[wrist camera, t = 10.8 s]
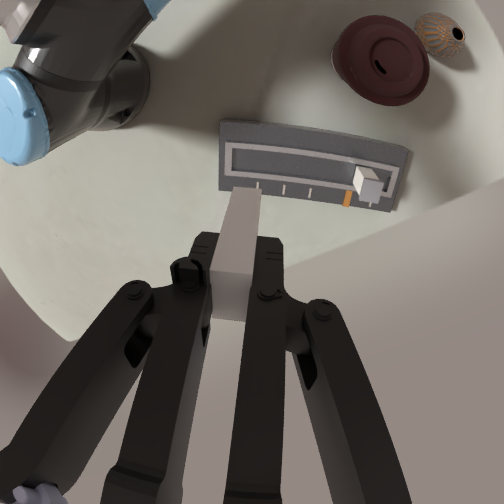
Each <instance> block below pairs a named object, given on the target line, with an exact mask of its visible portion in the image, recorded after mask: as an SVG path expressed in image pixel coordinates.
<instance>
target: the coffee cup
mask: <svg viewBox="0 0 504 504" xmlns="http://www.w3.org/2000/svg"><path fill="white" fill-rule="evenodd" d="M331 63H332V66H333V69H334V70H335V72H336V73H337V74H338V75H339V76H340V77H341V79H342V80H344V81H345V82H346V83H347V84H348V85H349V86H350V87H351V88H352V89H353V90H354V91H355V92H356V93H358V94H359V95H360V96H362V97H364V98H365V99H367V100H369V101H372V102H374V103H377V104H380V105H385V106H399V105H403V104H406V103H409V102H411V101H413V100H414V99H415V98H417V97H418V96H419V95H420V94H421V92H422V91H423V90H424V88H425V86H426V84H427V81H428V77H429V67H430V65H429V59H428V55H427V52H426V49H425V47H424V45H423V43H422V42H421V40H420V39H419V37H418V36H417V35H416V34H415V33H414V32H413V31H412V30H411V29H410V28H409V27H407V26H406V25H405V24H403V23H402V22H400V21H398V20H395V19H393V18H390V17H386V16H379V15H373V16H366V17H362V18H360V19H358V20H356V21H354V22H352V23H351V24H350V25H348V26H347V27H346V28H345V29H344V31H343V32H342V34H341V35H340V37H339V40H338V41H337V42H336V44H335V46H334V47H333V49H332V52H331Z"/></svg>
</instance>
